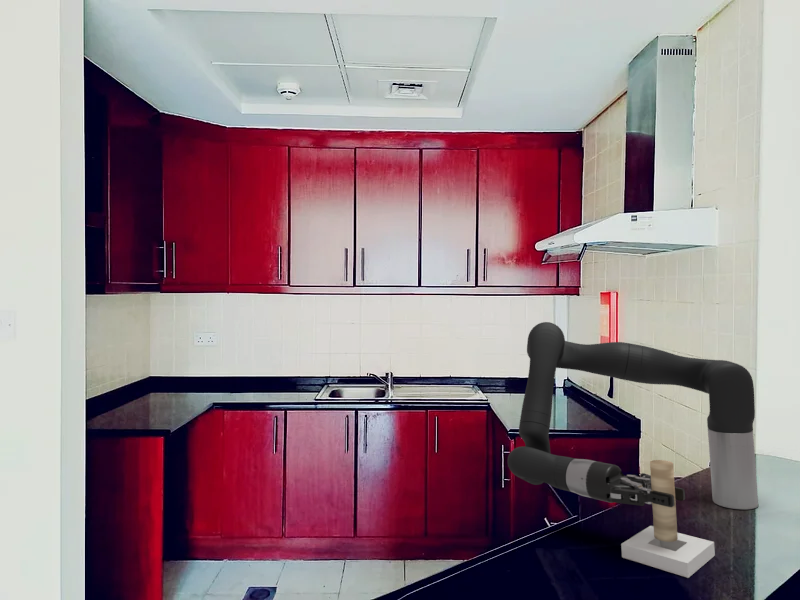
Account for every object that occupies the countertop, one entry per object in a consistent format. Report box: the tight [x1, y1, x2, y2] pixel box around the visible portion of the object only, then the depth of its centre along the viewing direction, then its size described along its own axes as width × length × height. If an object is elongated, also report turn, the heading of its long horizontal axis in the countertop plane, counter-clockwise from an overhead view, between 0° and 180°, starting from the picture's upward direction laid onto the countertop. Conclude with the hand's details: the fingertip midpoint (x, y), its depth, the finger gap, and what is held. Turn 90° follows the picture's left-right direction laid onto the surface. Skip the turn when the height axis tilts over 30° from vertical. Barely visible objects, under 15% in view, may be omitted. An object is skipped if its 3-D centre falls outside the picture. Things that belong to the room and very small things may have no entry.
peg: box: [649, 459, 678, 542], centre depth 104 cm, size 4×4×14 cm
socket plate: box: [620, 525, 716, 579], centre depth 104 cm, size 12×12×2 cm
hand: (678, 497), depth 102 cm, fingers closed on peg, 4 cm apart
